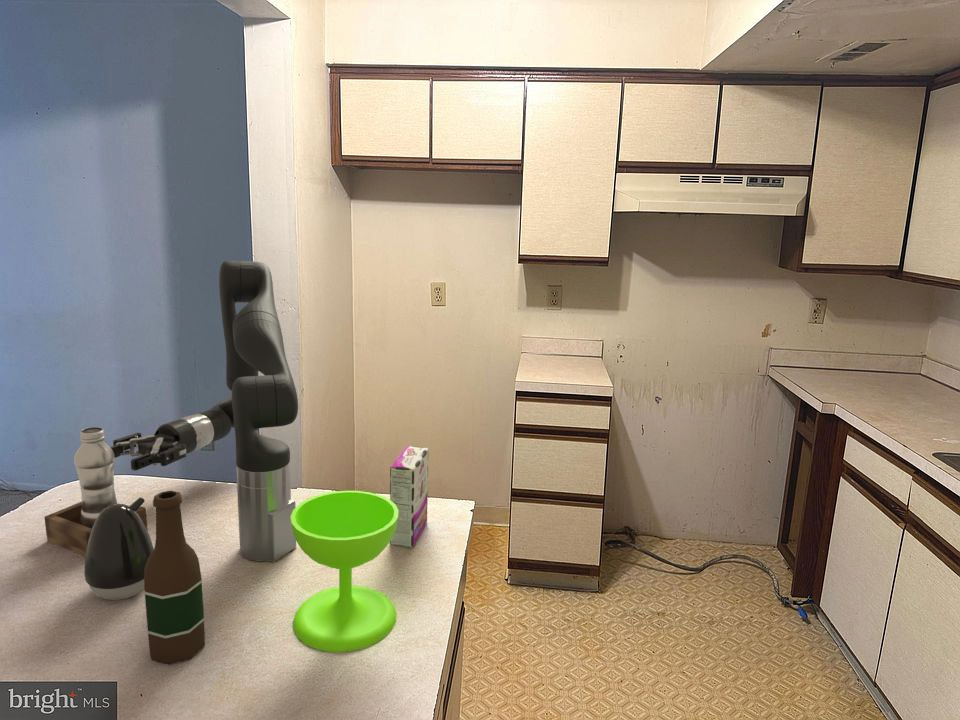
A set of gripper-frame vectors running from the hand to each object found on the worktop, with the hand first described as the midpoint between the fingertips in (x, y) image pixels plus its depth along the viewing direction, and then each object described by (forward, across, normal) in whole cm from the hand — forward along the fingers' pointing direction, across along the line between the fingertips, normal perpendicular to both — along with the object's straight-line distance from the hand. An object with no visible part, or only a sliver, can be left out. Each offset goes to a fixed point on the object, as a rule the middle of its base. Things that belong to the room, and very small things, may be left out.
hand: (116, 461), depth 123 cm
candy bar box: (-24, +50, +14) cm, 57 cm away
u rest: (+4, 0, +13) cm, 14 cm away
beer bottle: (+21, +38, +14) cm, 45 cm away
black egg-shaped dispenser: (+14, +19, +14) cm, 27 cm away
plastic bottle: (+4, 0, +13) cm, 13 cm away
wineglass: (+4, +55, +14) cm, 57 cm away
